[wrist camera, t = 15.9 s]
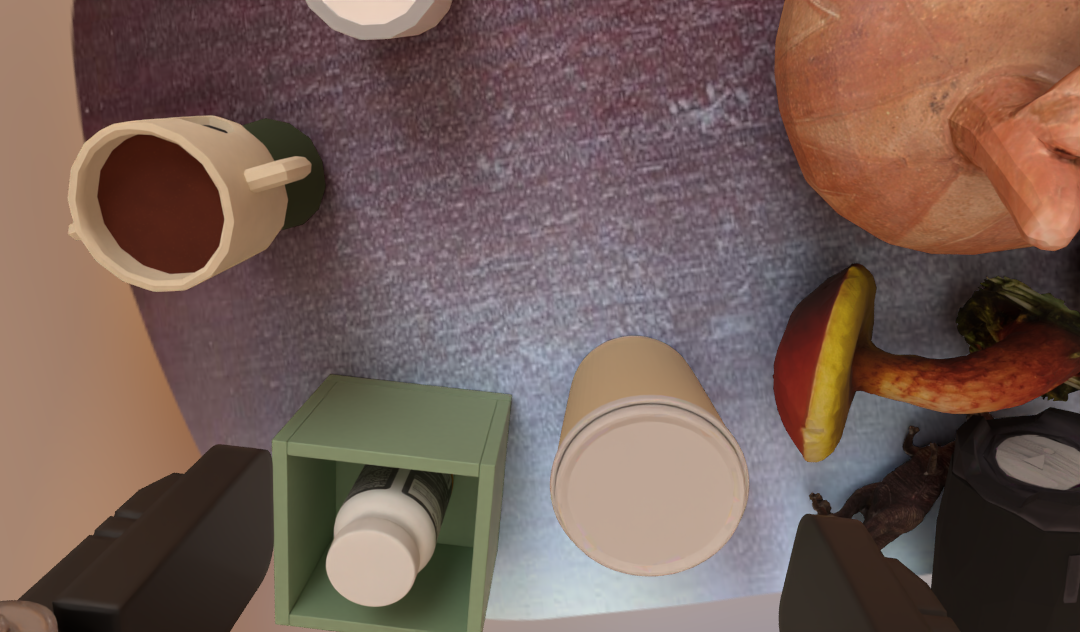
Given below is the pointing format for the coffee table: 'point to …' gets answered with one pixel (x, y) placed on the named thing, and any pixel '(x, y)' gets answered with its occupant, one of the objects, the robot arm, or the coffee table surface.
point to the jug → (938, 117)
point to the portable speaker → (1011, 525)
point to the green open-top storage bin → (401, 442)
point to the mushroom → (919, 357)
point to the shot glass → (380, 16)
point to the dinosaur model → (899, 491)
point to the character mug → (189, 195)
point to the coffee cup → (645, 462)
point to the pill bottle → (386, 532)
